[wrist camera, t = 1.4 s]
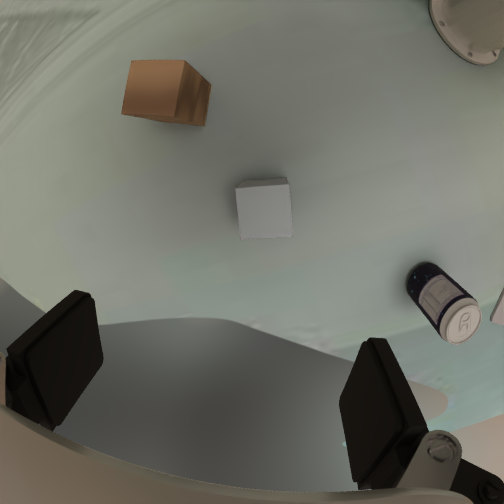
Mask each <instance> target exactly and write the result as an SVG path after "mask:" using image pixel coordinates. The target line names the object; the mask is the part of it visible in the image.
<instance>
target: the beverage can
mask: <svg viewBox="0 0 504 504" xmlns="http://www.w3.org/2000/svg"><path fill="white" fill-rule="evenodd" d="M407 289H408V294H409V296H410V297H411V298H412V300H413V301H414V302H415V303H416V305H417V306H418V307H419V309H420V310H421V311H422V312H423V314H424V315H425V316H426V318H427V319H428V320H429V322H430V323H431V324H432V326H433V327H434V328H435V330H436V331H437V332H438V334H439V335H440V336H441V338H442V339H444V340H446V341H449V342H450V343H451V344H455V345H457V344H462V343H464V342H466V341H467V340H469V339H470V338H471V337H472V336H473V335H474V334H475V333H476V331H477V330H478V328H479V326H480V323H481V319H482V314H481V310H480V309H479V306H478V303H477V301H476V300H475V299H474V298H473V297H472V296H471V295H470V294H469V293H468V292H467V291H466V290H464V289H463V288H462V287H461V286H460V285H459V284H458V283H457V282H455V281H454V280H453V279H452V278H451V277H450V276H449V275H447V274H446V273H445V272H444V271H443V270H442V269H440V268H439V267H438V266H437V265H435V264H432V263H427V264H423V265H421V266H419V267H418V268H417V269H416V270H415V271H414V272H413V273H412V274H411V276H410V278H409V281H408V286H407Z"/></svg>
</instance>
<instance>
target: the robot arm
mask: <svg viewBox="0 0 504 504" xmlns="http://www.w3.org/2000/svg"><path fill="white" fill-rule="evenodd" d="M429 10H430V14H431V18H432V20H433V23H434V25H435V27H436V29H437V31H438V32H439V34H440V35H441V37H442V38H443V40H444V41H445V42H446V43H447V44H448V46H449V47H450V48H451V49H452V50H454V51H455V52H456V53H457V54H458V55H459V56H461V57H462V58H464V59H465V60H467V61H469V62H471V63H474V64H477V65H487V64H491V63H493V62H494V61H496V59H497V58H498V56H499V54H500V49H501V48H504V0H430V3H429ZM7 352H8V356H7V357H6V358H5V356H4V355H3V353H1V352H0V504H504V483H503V481H502V480H501V479H500V478H499V477H497V476H496V475H494V474H492V473H490V472H488V471H485V470H484V469H482V468H479V467H478V466H476V465H474V464H472V463H469V462H468V461H466V460H464V459H462V458H461V456H462V447H461V444H460V443H459V441H458V439H457V438H456V437H455V436H453V435H452V434H450V433H449V432H446V431H443V430H434V431H430V432H429V430H428V428H427V424H426V422H425V420H424V417H423V415H422V413H421V410H420V408H419V406H418V404H417V402H416V399H415V397H414V395H413V393H412V391H411V388H410V386H409V384H408V382H407V380H406V378H405V376H404V374H403V372H402V370H401V368H400V366H399V363H398V361H397V359H396V357H395V355H394V353H393V351H392V349H391V347H390V345H389V344H388V342H387V340H386V339H384V338H371V337H370V338H369V339H368V340H367V341H364V342H363V343H362V345H361V347H360V350H359V352H358V355H357V358H356V360H355V363H354V365H353V368H352V370H351V373H350V375H349V378H348V380H347V382H346V385H345V387H344V389H343V391H342V394H341V396H340V400H339V407H340V413H341V417H342V423H343V428H344V434H345V439H346V445H347V450H348V456H349V462H350V468H351V474H352V479H353V482H357V484H358V490H364V491H347V492H284V491H267V490H256V489H246V488H238V487H231V486H224V485H218V484H212V483H206V482H201V481H196V480H191V479H186V478H182V477H178V476H173V475H169V474H165V473H162V472H158V471H154V470H150V469H147V468H144V467H140V466H137V465H134V464H131V463H128V462H125V461H122V460H119V459H116V458H113V457H111V456H108V455H105V454H103V453H100V452H97V451H95V450H92V449H90V448H87V447H85V446H83V445H80V444H78V443H76V442H73V441H71V440H69V439H67V438H65V437H63V436H60V435H58V434H56V433H54V432H53V430H54V429H55V427H56V426H59V425H61V423H62V422H63V421H64V419H65V417H66V416H67V415H68V413H69V412H70V410H71V408H72V407H73V406H74V404H75V403H76V401H77V400H78V398H79V397H80V395H81V394H82V393H83V391H84V390H85V388H86V387H87V385H88V384H89V383H90V381H91V380H92V378H93V377H94V376H95V374H96V372H97V371H98V370H99V368H100V367H101V366H102V363H103V352H102V347H101V341H100V335H99V329H98V322H97V315H96V308H95V301H94V299H93V298H91V295H90V294H89V293H86V292H83V291H79V290H74V291H73V292H71V293H70V294H69V295H68V296H67V297H65V298H64V299H63V300H62V301H60V302H59V303H58V304H57V305H56V306H54V307H53V308H52V309H51V310H50V311H48V312H47V313H46V314H45V315H44V316H43V317H41V318H40V319H39V320H38V321H37V322H36V323H35V324H33V325H32V326H31V327H30V328H29V329H28V330H27V331H25V333H23V334H22V335H21V336H20V337H19V338H18V339H17V340H15V341H14V342H13V343H12V344H11V345H10V346H9V347H8V348H7ZM39 423H40V425H41V426H40V425H39ZM365 489H372V490H365Z"/></svg>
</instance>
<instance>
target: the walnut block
mask: <svg viewBox="0 0 504 504" xmlns="http://www.w3.org/2000/svg"><path fill="white" fill-rule="evenodd" d="M211 89H212V85H211V84H210V83H209V82H208V81H207V80H206V79H205V78H203V77H202V76H201V75H200V74H199V73H198V72H197V71H196V70H195V69H194V68H193V67H192V66H191V65H190V64H189V63H187V62H186V61H185V60H135V61H131V65H130V70H129V75H128V79H127V85H126V90H125V95H124V101H123V107H122V113H121V114H124V115H129V116H135V117H140V118H146V119H151V120H156V121H161V122H166V123H179V124H189V125H199V126H205V122H206V116H207V111H208V105H209V99H210V94H211Z"/></svg>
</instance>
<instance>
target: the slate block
mask: <svg viewBox="0 0 504 504" xmlns="http://www.w3.org/2000/svg"><path fill="white" fill-rule="evenodd" d="M235 193H236V202H237V211H238V221H239V230H240V239H241V240H248V239H263V238H278V237H293V233H292V216H291V201H290V187H289V182H288V180H287V178H274V179H261V180H249V181H242V182H241V183H240V184H239V185H238V186H237V187H236V188H235Z"/></svg>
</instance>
